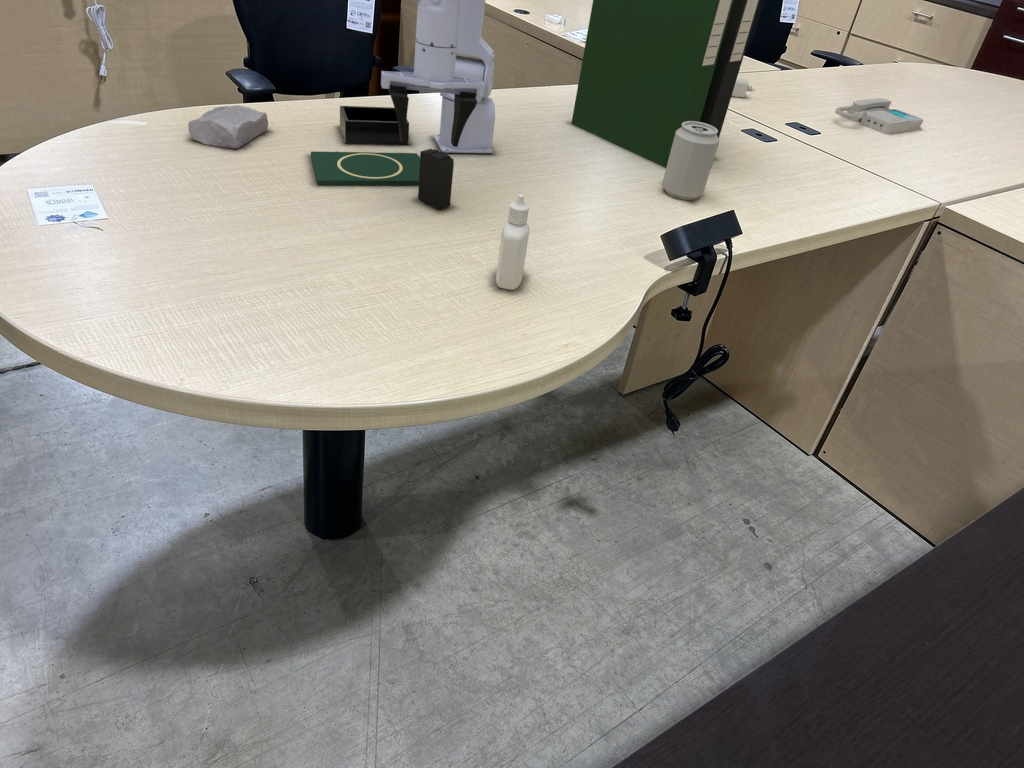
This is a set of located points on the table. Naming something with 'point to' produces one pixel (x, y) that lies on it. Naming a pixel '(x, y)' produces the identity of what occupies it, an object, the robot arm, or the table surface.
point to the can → (690, 160)
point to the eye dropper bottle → (513, 246)
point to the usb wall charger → (741, 88)
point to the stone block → (228, 126)
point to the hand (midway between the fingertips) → (428, 142)
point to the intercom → (880, 116)
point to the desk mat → (366, 168)
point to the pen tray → (370, 125)
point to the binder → (659, 69)
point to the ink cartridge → (435, 178)
